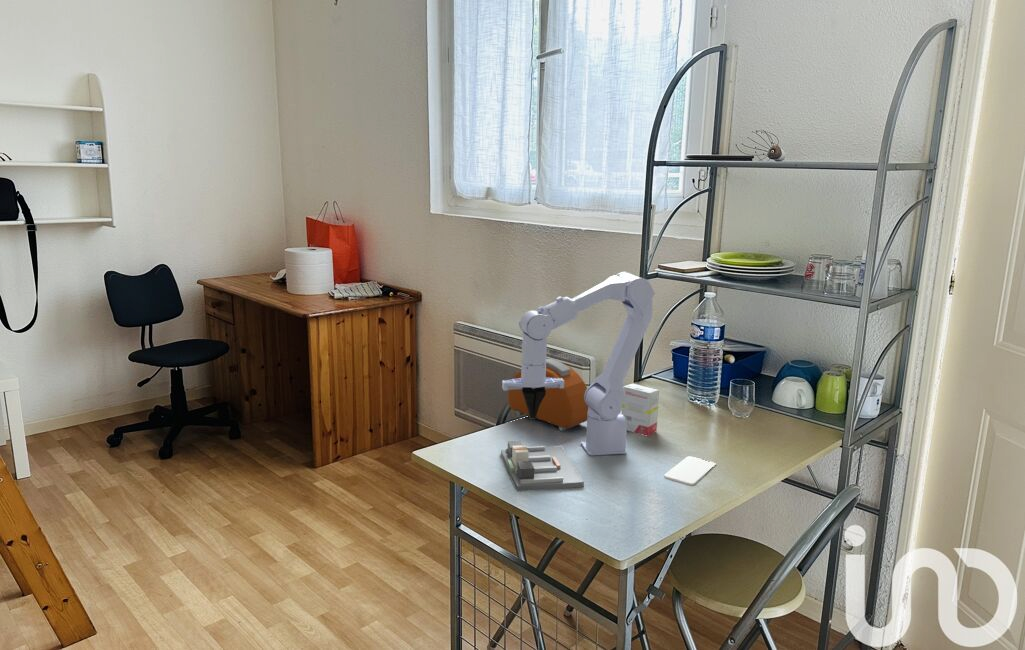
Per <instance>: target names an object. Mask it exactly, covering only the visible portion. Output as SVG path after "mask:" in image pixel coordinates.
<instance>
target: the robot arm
mask: <svg viewBox="0 0 1025 650" xmlns="http://www.w3.org/2000/svg"><path fill="white" fill-rule="evenodd" d="M655 294H656V293H655V291H654V289H653V286H652V285H651V283H650V281H649V280H648V279H646V278H644V277H640V276H637V275H634V274H632V273H630V272H628V271H621V272H619V273H617V274H616V275H615V274H614V275H612V276H609V277H608V278H607V279H606V280H604V281H603V282H600V283H599V284H597V285H595V286H593V287H591V288H590V289H588V290H586V291H584V292H582V293H580V294H579V295H576V296H574V297H573V298H570V297H568V296H564V297H562V296H557V297H556V298H555V301H553V302H551V303H549V304H547V305H544V306H542V305H540V306H539V307H537V310H534V309H533V310H528V311H526V312H525V313H524V314H523V316H521V319H520V321H519V322H518V327H519V328H520V330H521V331H522V342H521V343H522V344H521V369H520V370H521V378H518V379H513V378H512V379H505V380H504V379H503V380H502V382H501V385H502V386H501V389H502V390H503V392H505V391H507V392H508V390H510V389H521V391H522V393H523V396H524V398H525V401H526V404H527V409H528V415H527V416H528V418H529V419H530V420H535V419H537V418H536V415H537V412H538V409H539V406H540V404H541V402H542V400H543V398H544V397H545V395H546V391H545V388H564V380H563V379H562V378H546V359H547V352H548V351H547V349H548V348H547V347H548V343H547V341H548V340H547V339H548V336H550V334H551V333H552V331H554V330H555V329H558V328H560V327H562V326H563V325H565V324H568V323H570V322H571V321H574V320H576V319H577V317H578V314H579V313H580V312H581V311H583V310H585V309H588V308H590V307H594V306H595V305H598V304H600V303H602V302H604V301H607V300H615V301H621V303H622V305H623V306H624V308H625V311H626V313H627V317H626V319H625V320H624V323H623V326H622V327H621V330H620V332H619V334H618V337H617V340H616V342H615V344H614V346H613V347H612V351H611V353H610V355H609V357H608V360H607V362H606V363H605V364H606V365H605V366H604V368H603V371H602V373H601V374H599V375H597V376H596V377H594V379H593V381H592V383H591V384H590V385H589V386H588V387H587V390H586V391H585V394H584V400H585V403H586V404H587V405H588V412H587V421H586V437H585V438H586V439H585V441H584V440H583V441H581V442H580V445H582V447H583V449H584V451H585V452H586V453H587V454H588V455H589V456H607V455H621V454H622V455H625V454H627V450H626V448H627V447H626V446H627V434H628V433H627V432H628V431H627V424H626V419H625V417H624V415H623V414H622V399H623V397H624V394H625V393H624V388H623V387H624V381H625V379H626V377H627V374H628V372H629V369H630V368H631V366H632V363H633V362H634V359H635V356H636V353H637V352H638V349H639V347H640V345H641V343H642V340H643V338H644V336H645V333H646V332H647V329H648V327H649V324H650V323H651V321H652V319H653V299H654V295H655Z"/></svg>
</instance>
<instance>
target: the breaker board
mask: <svg viewBox="0 0 1025 650" xmlns="http://www.w3.org/2000/svg"><path fill="white" fill-rule="evenodd" d="M518 445H523V443H522V441H521V440H507V447H505V449H501V450H500V455H501V458H502V460H503V463H504V465H505V468H506V470H507V471H508V474H509V476H510V480H511V481H512V483H513V485H514V488H515V490H516V492H528V491H540V490H556V489H557V490H559V489H572V488H573V489H574V488H584V486H585V481H584V479H583V478H582V476H581V475H580V473H579V471H577V468H576V467H575V466H574V464H573V462H572V461H571V460H570V458H569V456H568V455H567V453H566V452H565V450H564V448H563V447H562V446H554V447H553V446H549V447H545V445H540V446H539V445H536V446H526V447H527V450H528V452H529V460H528V461H520V462H517V468H515V467H514V465H513V463H512V446H518Z"/></svg>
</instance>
